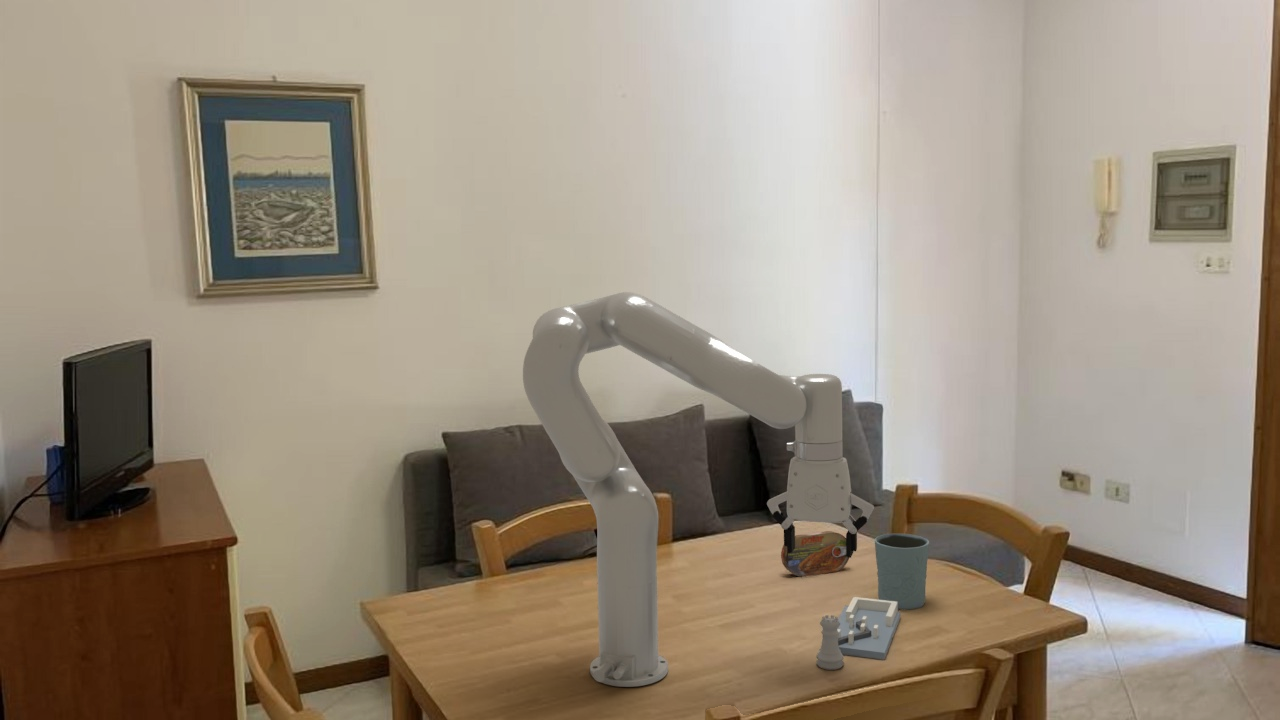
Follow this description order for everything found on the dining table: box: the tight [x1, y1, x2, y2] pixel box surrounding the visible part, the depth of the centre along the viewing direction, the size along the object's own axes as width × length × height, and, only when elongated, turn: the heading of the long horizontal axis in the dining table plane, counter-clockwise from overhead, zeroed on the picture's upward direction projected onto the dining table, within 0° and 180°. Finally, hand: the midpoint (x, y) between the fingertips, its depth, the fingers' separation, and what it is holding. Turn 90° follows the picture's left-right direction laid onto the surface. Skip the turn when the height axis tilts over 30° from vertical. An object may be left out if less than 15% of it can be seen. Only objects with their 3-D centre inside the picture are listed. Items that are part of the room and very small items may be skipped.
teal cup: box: [874, 533, 930, 610], centre depth 196 cm, size 10×10×12 cm
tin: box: [780, 530, 850, 578], centre depth 214 cm, size 15×3×8 cm, turn 108°
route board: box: [837, 596, 901, 661], centre depth 180 cm, size 20×10×3 cm, turn 159°
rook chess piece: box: [816, 614, 845, 671], centre depth 167 cm, size 4×4×8 cm
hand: (820, 553), depth 169 cm, fingers open, 9 cm apart
